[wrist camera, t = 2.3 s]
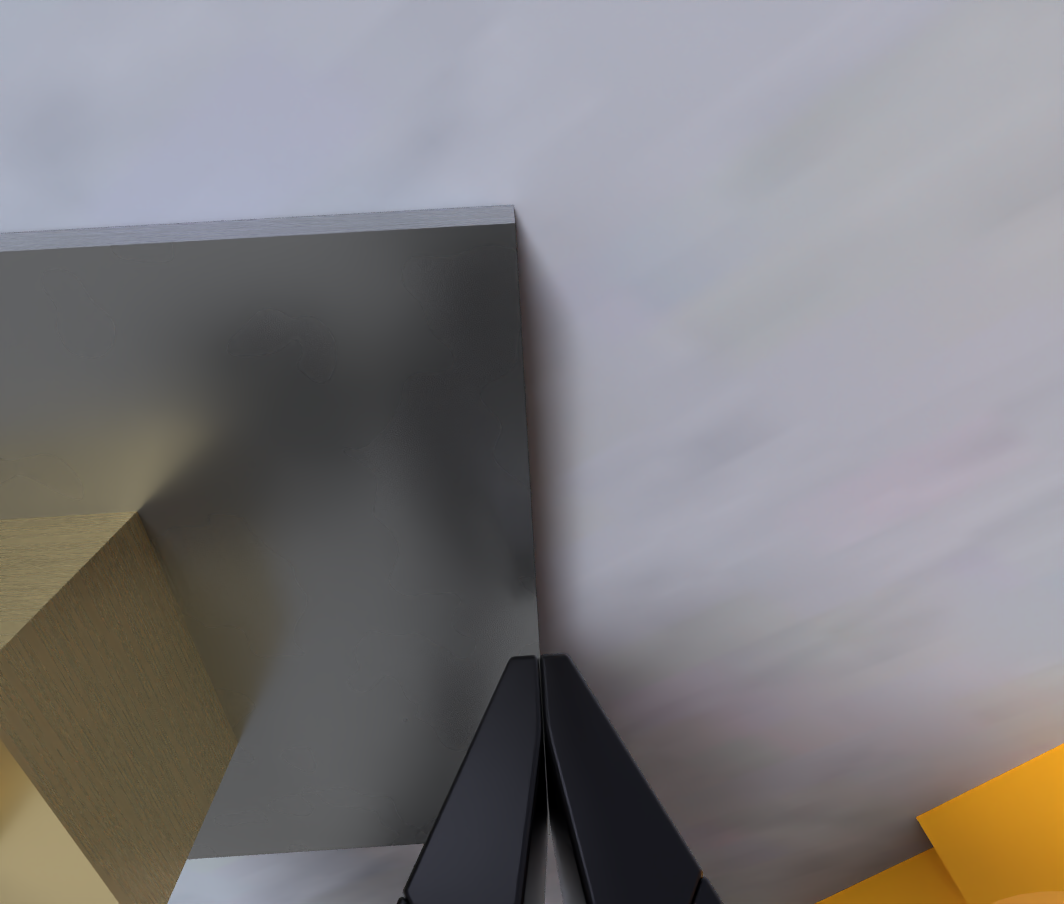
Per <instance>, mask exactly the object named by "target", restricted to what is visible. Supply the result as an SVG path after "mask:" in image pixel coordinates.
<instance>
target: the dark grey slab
mask: <svg viewBox="0 0 1064 904" xmlns="http://www.w3.org/2000/svg"><path fill="white" fill-rule="evenodd" d="M134 511H137V512H138V514H139V517H140V519H141V521H142V523H143V526H144V528H145V530H146V533H147V535H148V537H149V540H150V542H151V544H152V546H153V549H154V551H155V553H156V556H157V558H158V560H159V563H160V565H161V567H162V569H163V572H164V574H165V576H166V579H167V581H168V583H169V586H170V588H171V590H172V592H173V595H174V597H175V599H176V602H177V604H178V606H179V609H180V611H181V613H182V615H183V618H184V620H185V622H186V625H187V627H188V629H189V631H190V634H191V636H192V638H193V641H194V643H195V645H196V648H197V650H198V652H199V654H200V657H201V659H202V661H203V664H204V666H205V668H206V671H207V673H208V675H209V677H210V680H211V682H212V684H213V687H214V689H215V691H216V694H217V696H218V698H219V700H220V703H221V705H222V707H223V710H224V712H225V714H226V717H227V719H228V721H229V723H230V726H231V728H232V730H233V733H234V735H235V737H236V740H237V742H238V745H237V747H236V749H235V752H234V754H233V756H232V758H231V761H230V763H229V765H228V767H227V770H226V772H225V774H224V776H223V779H222V781H221V783H220V785H219V788H218V790H217V792H216V794H215V797H214V799H213V801H212V803H211V806H210V808H209V810H208V812H207V815H206V817H205V819H204V822H203V824H202V826H201V828H200V831H199V833H198V835H197V837H196V840H195V842H194V844H193V846H192V849H191V851H190V853H189V855H188V858H187V859H198V858H213V857H228V856H243V855H258V854H273V853H288V852H303V851H318V850H333V849H348V848H363V847H378V846H393V845H409V844H424V843H425V841H426V839H427V837H428V835H429V833H430V830H431V828H432V826H433V824H434V822H435V820H436V817H437V815H438V813H439V811H440V809H441V806H442V804H443V802H444V800H445V798H446V796H447V793H448V791H449V789H450V787H451V785H452V782H453V780H454V778H455V776H456V774H457V772H458V769H459V767H460V765H461V763H462V761H463V758H464V756H465V754H466V752H467V750H468V748H469V745H470V743H471V741H472V739H473V737H474V734H475V732H476V730H477V728H478V726H479V724H480V721H481V719H482V717H483V715H484V713H485V710H486V708H487V706H488V704H489V702H490V700H491V697H492V695H493V693H494V691H495V689H496V686H497V684H498V682H499V680H500V678H501V676H502V673H503V671H504V669H505V667H506V665H507V663H508V661H509V659H510V658H511V657H514V656H526V655H536V656H537V657H538V658H539V660H540V648H539V630H538V613H537V596H536V578H535V561H534V543H533V526H532V508H531V491H530V474H529V456H528V439H527V421H526V404H525V386H524V369H523V352H522V334H521V317H520V299H519V282H518V264H517V247H516V229H515V216H514V206H513V205H503V206H485V207H467V208H449V209H431V210H413V211H395V212H377V213H358V214H340V215H322V216H304V217H286V218H268V219H250V220H232V221H214V222H195V223H177V224H159V225H141V226H123V227H105V228H87V229H69V230H50V231H32V232H14V233H0V520H1V519H18V518H34V517H51V516H67V515H84V514H101V513H117V512H134ZM539 667H540V661H539ZM540 683H541V679H540ZM541 699H542V696H541ZM542 715H543V713H542ZM543 732H544V729H543ZM544 749H545V746H544ZM545 767H546V762H545ZM546 784H547V779H546ZM547 802H548V795H547ZM548 835H550V822H549V808H548Z"/></svg>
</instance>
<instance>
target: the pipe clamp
mask: <svg viewBox="0 0 1064 904" xmlns="http://www.w3.org/2000/svg"><path fill="white" fill-rule="evenodd" d="M916 818H917V820H918V822H919V823H920V825H921V827H922V828H923V830H924V832H925V833H926V835H927V837H928V838H929V840H930V842H931V843H932V845H933V848H930V849H928V850H926V851H924V852H922V853H920V854H918V855H916V856H914V857H912V858H909V859H907V860H905V861H903V862H901V863H899V864H897V865H895V866H893V867H891V868H889V869H886V870H884V871H882V872H880V873H878V874H876V875H874V876H872V877H870V878H868V879H865V880H863V881H861V882H859V883H857V884H855V885H853V886H851V887H849V888H847V889H844V890H842V891H840V892H838V893H836V894H834V895H832V896H830V897H828V898H826V899H823V900H821V901H819V902H817V903H815V904H1064V743H1063V744H1061V745H1059V746H1057V747H1055V748H1053V749H1051V750H1049V751H1047V752H1045V753H1043V754H1041V755H1039V756H1037V757H1035V758H1033V759H1031V760H1029V761H1027V762H1025V763H1023V764H1021V765H1019V766H1017V767H1015V768H1013V769H1011V770H1009V771H1007V772H1005V773H1003V774H1001V775H999V776H997V777H995V778H993V779H991V780H989V781H987V782H985V783H983V784H981V785H979V786H977V787H975V788H973V789H971V790H969V791H967V792H965V793H963V794H961V795H959V796H957V797H955V798H953V799H951V800H949V801H947V802H945V803H943V804H941V805H939V806H937V807H935V808H933V809H931V810H929V811H927V812H925V813H923V814H921V815H919V816H917V817H916Z"/></svg>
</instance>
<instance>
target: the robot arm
mask: <svg viewBox="0 0 1064 904" xmlns="http://www.w3.org/2000/svg"><path fill="white" fill-rule="evenodd" d="M539 661H540V667H539ZM540 679H541V683H540ZM541 696H542V699H541ZM542 713H543V715H542ZM543 729H544V732H543ZM544 746H545V749H544ZM545 762H546V767H545ZM546 779H547V784H546ZM547 795H548V802H547ZM548 808H549V819H550V826H551V833H552V840H553V845H554V851H555V857H556V863H557V869H558V874H559V880H560V886H561V892H562V897H563V903H564V904H723V902H722V901H721V899H720V897H719V896H718V894H717V893H716V891H715V889H714V888H713V886H712V884H711V883H710V881H709V880H708V878H706V877H702V875H703V871H702V869H701V867H700V866H699V864H698V862H697V861H696V859H695V858H694V856H693V854H692V853H691V851H690V850H689V848H688V846H687V845H686V843H685V841H684V840H683V838H682V837H681V835H680V833H679V832H678V830H677V829H676V827H675V825H674V824H673V822H672V820H671V819H670V817H669V816H668V814H667V812H666V811H665V809H664V808H663V806H662V804H661V803H660V801H659V800H658V798H657V796H656V795H655V793H654V791H653V790H652V788H651V787H650V785H649V783H648V782H647V780H646V779H645V777H644V775H643V774H642V772H641V770H640V769H639V767H638V766H637V764H636V762H635V761H634V759H633V758H632V756H631V754H630V753H629V751H628V749H627V748H626V746H625V745H624V743H623V741H622V740H621V738H620V737H619V735H618V733H617V732H616V730H615V729H614V727H613V725H612V724H611V722H610V720H609V719H608V717H607V716H606V714H605V712H604V711H603V709H602V708H601V706H600V704H599V703H598V701H597V699H596V698H595V696H594V695H593V693H592V691H591V690H590V688H589V687H588V685H587V683H586V682H585V680H584V679H583V677H582V675H581V674H580V672H579V670H578V669H577V667H576V666H575V664H574V662H573V661H572V659H571V658H570V657H569V655H567V654H566V653H557V654H544V655H542V656H541V657H540V660H539V658H538V657H537V656H536V655H526V656H514V657H511V658H510V659H509V661H508V663H507V665H506V667H505V669H504V671H503V673H502V676H501V678H500V680H499V682H498V684H497V686H496V689H495V691H494V693H493V695H492V697H491V700H490V702H489V704H488V706H487V708H486V710H485V713H484V715H483V717H482V719H481V721H480V724H479V726H478V728H477V730H476V732H475V734H474V737H473V739H472V741H471V743H470V745H469V748H468V750H467V752H466V754H465V756H464V758H463V761H462V763H461V765H460V767H459V769H458V772H457V774H456V776H455V778H454V780H453V782H452V785H451V787H450V789H449V791H448V793H447V796H446V798H445V800H444V802H443V804H442V806H441V809H440V811H439V813H438V815H437V817H436V820H435V822H434V824H433V826H432V828H431V830H430V833H429V835H428V837H427V839H426V841H425V844H424V846H423V848H422V850H421V852H420V854H419V857H418V859H417V861H416V863H415V865H414V868H413V870H412V872H411V874H410V876H409V878H408V881H407V883H406V885H405V887H404V889H403V895H404V897H401V898H399V900H398V902H397V904H544V901H545V881H546V861H547V841H548Z"/></svg>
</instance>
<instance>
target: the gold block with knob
mask: <svg viewBox="0 0 1064 904" xmlns="http://www.w3.org/2000/svg"><path fill="white" fill-rule="evenodd" d="M237 745H238V742H237V740H236V737H235V735H234V733H233V730H232V728H231V726H230V723H229V721H228V719H227V717H226V714H225V712H224V710H223V707H222V705H221V703H220V700H219V698H218V696H217V694H216V691H215V689H214V687H213V684H212V682H211V680H210V677H209V675H208V673H207V671H206V668H205V666H204V664H203V661H202V659H201V657H200V654H199V652H198V650H197V648H196V645H195V643H194V641H193V638H192V636H191V634H190V631H189V629H188V627H187V625H186V622H185V620H184V618H183V615H182V613H181V611H180V609H179V606H178V604H177V602H176V599H175V597H174V595H173V592H172V590H171V588H170V586H169V583H168V581H167V579H166V576H165V574H164V572H163V569H162V567H161V565H160V563H159V560H158V558H157V556H156V553H155V551H154V549H153V546H152V544H151V542H150V540H149V537H148V535H147V533H146V530H145V528H144V526H143V523H142V521H141V519H140V517H139V514H138V512H137V511H134V512H117V513H101V514H84V515H67V516H51V517H34V518H18V519H1V520H0V904H167V903H168V901H169V898H170V896H171V894H172V891H173V889H174V887H175V885H176V882H177V880H178V878H179V876H180V873H181V871H182V869H183V867H184V864H185V862H186V860H187V858H188V855H189V853H190V851H191V849H192V846H193V844H194V842H195V840H196V837H197V835H198V833H199V831H200V828H201V826H202V824H203V822H204V819H205V817H206V815H207V812H208V810H209V808H210V806H211V803H212V801H213V799H214V797H215V794H216V792H217V790H218V788H219V785H220V783H221V781H222V779H223V776H224V774H225V772H226V770H227V767H228V765H229V763H230V761H231V758H232V756H233V754H234V752H235V749H236V747H237Z"/></svg>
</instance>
